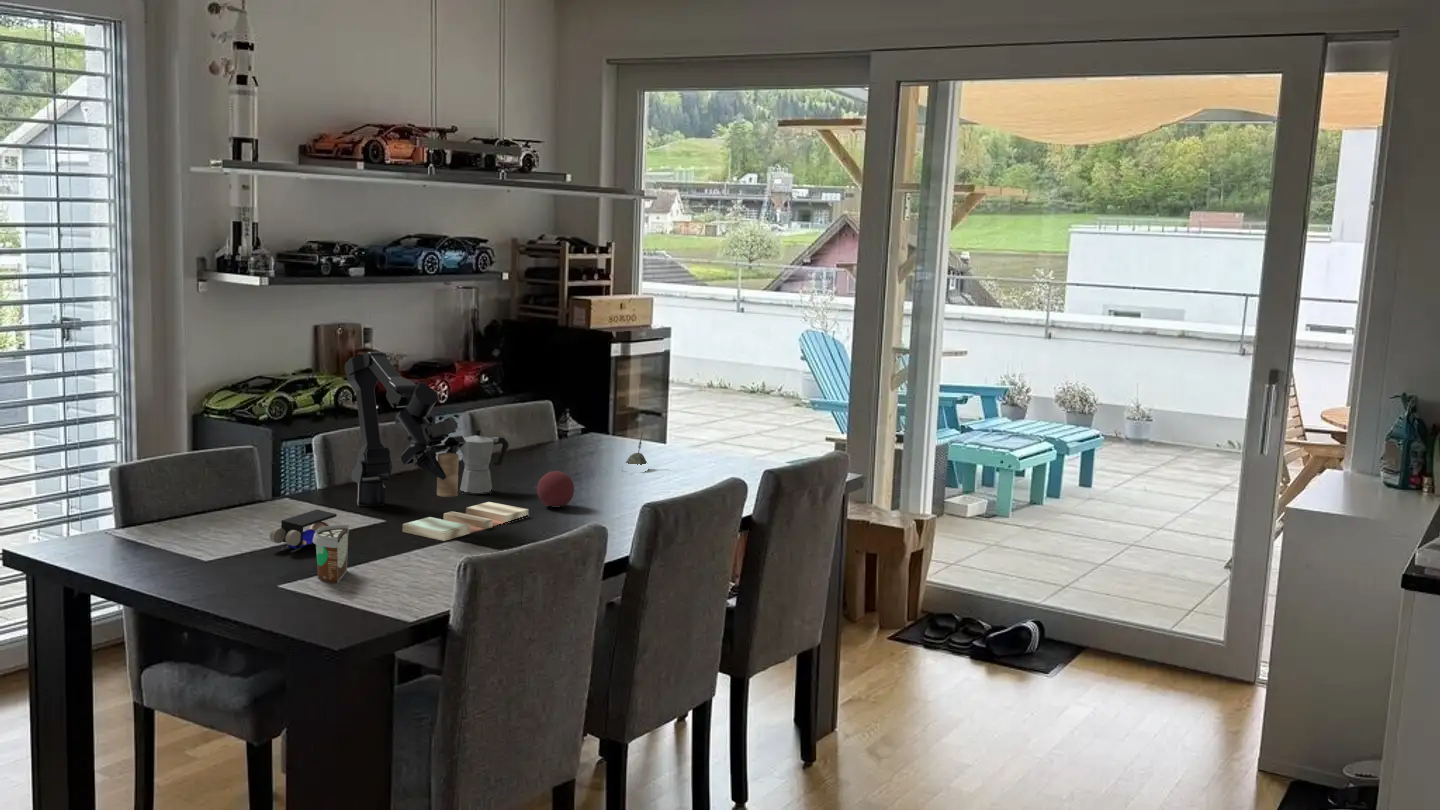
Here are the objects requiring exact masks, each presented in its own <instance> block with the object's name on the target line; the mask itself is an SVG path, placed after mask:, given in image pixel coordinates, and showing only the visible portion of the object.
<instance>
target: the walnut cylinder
mask: <svg viewBox="0 0 1440 810" xmlns="http://www.w3.org/2000/svg"><path fill="white" fill-rule="evenodd" d="M459 456H460V455H459V453H456V454H455V453H440V454H438V453H437V461H438V463H439V464H440V466H441V468H442V470H443V471H444V473H445V475H446V478H445V479H444V480H442V479H440V478H439V477H437V476H436V495H437V496H439V497H443V498H444V497H445V498H452V497H457V496H458V491H459V487H458V486H459V485H458V484H459V476H458V466H459Z"/></svg>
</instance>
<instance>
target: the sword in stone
mask: <svg viewBox="0 0 1440 810" xmlns="http://www.w3.org/2000/svg"><path fill="white" fill-rule="evenodd" d="M643 435H644V434H643V431H642V432H641V435H640V440H639V441H638V448H637V449H638V452H634V453H632V454H631V455H630V456H629V457H628V458H627V460H626V461H625V463H628V464H637V465H638V464H640V465H642V464H646V463H647V464H648V462H647V460H646V458H645V456H644V455H643V453H642V452H641V453H640V449H641V448H642V438H643Z"/></svg>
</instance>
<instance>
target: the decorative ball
mask: <svg viewBox="0 0 1440 810" xmlns="http://www.w3.org/2000/svg"><path fill="white" fill-rule="evenodd" d="M574 485H575V484H574V482H573V480H572V479H571V477H570V476H569V475H568V474H567V473H565V472H563V471H560V470H553V471H549V472H547V473H545V474H544V475H543V476H542V477H541V478H540V479H539V481H538V482H537V488H536V490H537V491H536V493H537V496H538V498H539V500H540V501H541V502H542V503H543V504H544V505H545V506H546V505H547V506H546V507H548V506H556V507H557V506H562V507H565V506H566V505H568V504H569V503H570V502H571V500H572V499H573V497H574V495H575V494H574V492H575V486H574ZM564 505H565V506H564Z"/></svg>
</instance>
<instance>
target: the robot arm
mask: <svg viewBox="0 0 1440 810" xmlns="http://www.w3.org/2000/svg"><path fill="white" fill-rule="evenodd" d="M387 358H388V357H387V354H386V352H382V351H368V352H365V353H364V354H361V355H358V356H356V357H355V356H354V357H350V358H349V359H348V360H347V361H346V362H345V364H344V373H345V375H346V377H347V378H346V379H347V383H348V385H349V386H350V387H351V388H352V389H353V390H354V392H355V398H356V405H357V413H358V414H357V415H358V421H359V431H360V437H361V447H360V448H359V451H358V453H357V456H356V457H357V460H356V461H357V463H356V464H355V466H354V467H353V469H352V471H351V480H352V481H353V482H355V483H356V484H357V499H356V503H357V506H358V507H384V506H385V502H386V489H387V488H386V486H385V485H384V482H390V479H391V474H392V469H393V462H392V460H391V454H390V453H391V452H390V449H389V447H386V446H384V445H383V443H382V442H381V433H380V425H379V416H378V409H377V401H376V399H377V398H376V393H375V392H376V391H375V389H376V386H377V384H378V383H381V384H382V386H383V387H384V388H385V390H386V394H385V395H386V396H385V398H386V400H387V402H388V403H389V405H390V406H391V407H392V408H401V410H400V411H399V412H396V413H395V419H394V423H395V425H399V424H401V425H402V427H404V429H405V431H406V433H407V434H408V437H407V440H408V442H410V444H409V445H408V446H407V448H406V449H405V450H403V452H402V453H401V454H400V461H401V463H402V464H403V466H404V467H406V466H411V465H413V464H414V466H415V467H418V468H420V469H421V470H423V471H426V472H428V473H430V474H432V475H434V476H435V477H436V478H437V477H439V478H440V479H442V480H444V479H445V478H446V475H445V473H444V471H443V470H442V468H441V466H440V464H439V463H438V458H437V455H438V454H440V453H455V454H458V451H460V448H461V447H462V446H463V445H464V444H465V443H466V441H465V440H464V438H465V437H463V436H462V435H460V434H456V435H453V436H452V435H451V436H449V437H448V438H447V435H449V434H451V433H453V434H454V433H456V432H457V429H458V426H459V424H458V422H457V421H456V419H455V418H454V417H453V416H450V417H447V418H445V419H443V420H442V421H441V420H440V421H439V422H436V423H435V422H430V421H429V420H428V419H427V416H428V415H429V414H430V413H431V411H432V409H433V408H434V406H435V404H436V403H437V402H438V399H439V397H438V393H437V391H435V390H434V389H433V388H431V387H430V386H427V384H426V382H417V384H416V383H414V382H413V380H410V379H407V378H404V377H403V376H402V375H401V373H399V371H398V370H397V369H396V368H395V366H394V365H393V363H391V362H390V361H389V359H387ZM446 438H447V439H446ZM442 441H444V442H442ZM411 442H412V443H411ZM436 454H437V455H436ZM413 458H415V461H416V462H415V463H414V459H413ZM460 476H461V471H460V467H459V465H458V477H460Z"/></svg>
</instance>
